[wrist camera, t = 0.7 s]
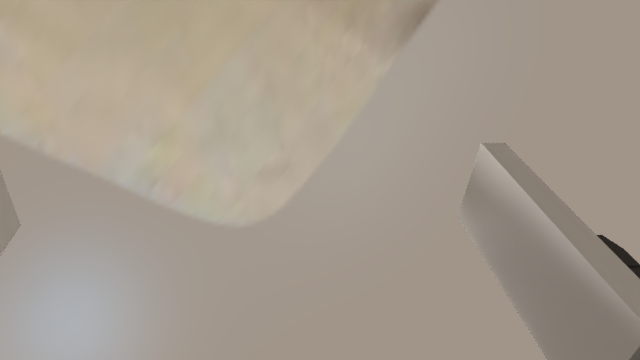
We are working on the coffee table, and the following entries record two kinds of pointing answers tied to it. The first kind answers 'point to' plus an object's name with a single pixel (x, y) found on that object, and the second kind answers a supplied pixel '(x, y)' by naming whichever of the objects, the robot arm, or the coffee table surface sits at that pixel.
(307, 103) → the coffee table surface
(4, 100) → the coffee table surface
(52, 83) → the coffee table surface
